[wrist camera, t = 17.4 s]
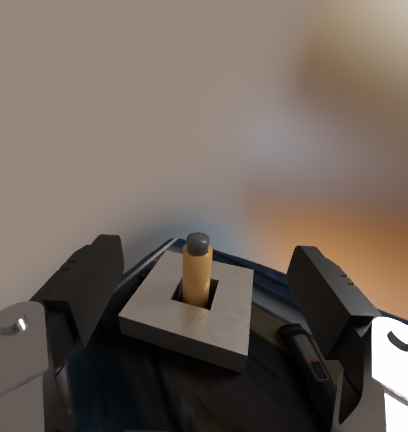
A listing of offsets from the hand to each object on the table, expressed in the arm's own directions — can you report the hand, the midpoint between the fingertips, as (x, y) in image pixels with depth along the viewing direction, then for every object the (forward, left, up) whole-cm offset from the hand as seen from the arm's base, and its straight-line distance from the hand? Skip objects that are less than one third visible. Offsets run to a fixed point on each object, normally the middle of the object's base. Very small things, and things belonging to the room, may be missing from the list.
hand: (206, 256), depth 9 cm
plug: (+5, -16, -24) cm, 29 cm away
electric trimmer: (-14, -10, -25) cm, 30 cm away
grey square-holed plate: (+5, -16, -24) cm, 29 cm away
